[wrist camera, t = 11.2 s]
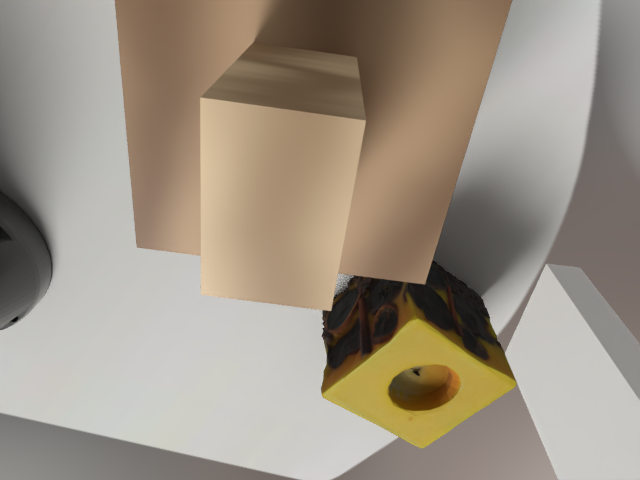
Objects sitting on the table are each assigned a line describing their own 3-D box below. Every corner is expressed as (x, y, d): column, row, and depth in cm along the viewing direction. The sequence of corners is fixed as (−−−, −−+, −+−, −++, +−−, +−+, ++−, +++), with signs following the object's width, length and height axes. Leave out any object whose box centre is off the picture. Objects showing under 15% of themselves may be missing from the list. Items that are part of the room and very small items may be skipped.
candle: (320, 307, 42) (314, 396, 34) (397, 231, 38) (412, 312, 29) (404, 359, 45) (418, 454, 37) (484, 295, 41) (521, 385, 32)
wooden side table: (203, 150, 34) (51, 370, 16) (203, -87, 27) (-78, -166, 9) (398, 177, 35) (458, 419, 17) (451, -49, 27) (662, -50, 9)
